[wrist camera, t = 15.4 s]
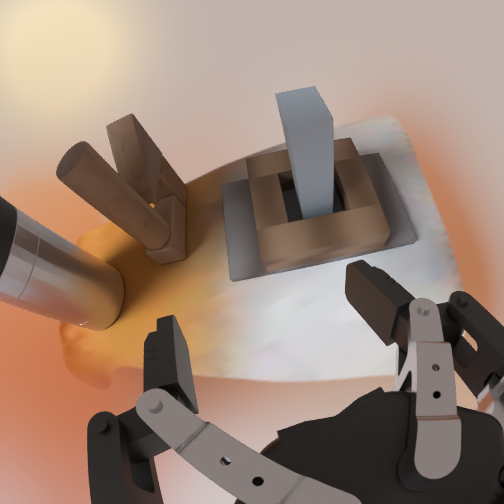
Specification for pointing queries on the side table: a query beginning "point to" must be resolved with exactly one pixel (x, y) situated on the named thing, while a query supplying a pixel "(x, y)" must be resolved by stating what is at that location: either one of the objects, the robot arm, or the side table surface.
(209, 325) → the side table surface
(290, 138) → the rectangular block
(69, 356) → the side table surface
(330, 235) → the wooden socket base
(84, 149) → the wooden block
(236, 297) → the side table surface
